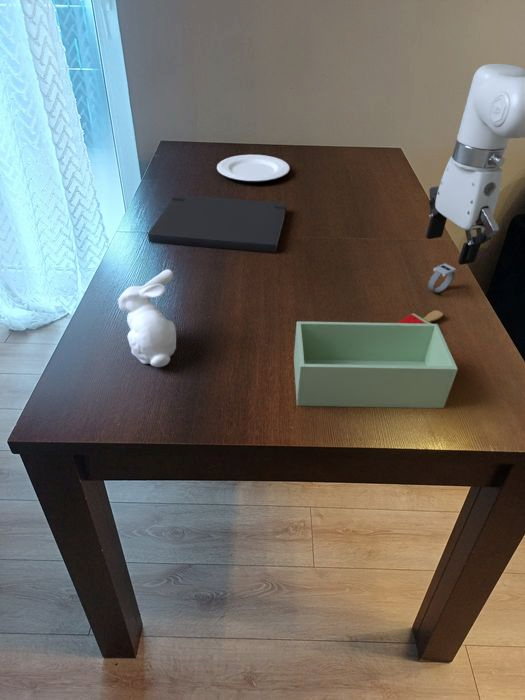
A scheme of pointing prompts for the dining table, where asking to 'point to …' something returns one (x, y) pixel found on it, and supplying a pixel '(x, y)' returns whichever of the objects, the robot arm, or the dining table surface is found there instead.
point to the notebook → (220, 223)
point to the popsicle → (419, 320)
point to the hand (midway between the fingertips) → (449, 249)
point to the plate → (253, 168)
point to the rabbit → (149, 322)
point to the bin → (372, 365)
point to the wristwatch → (443, 271)
